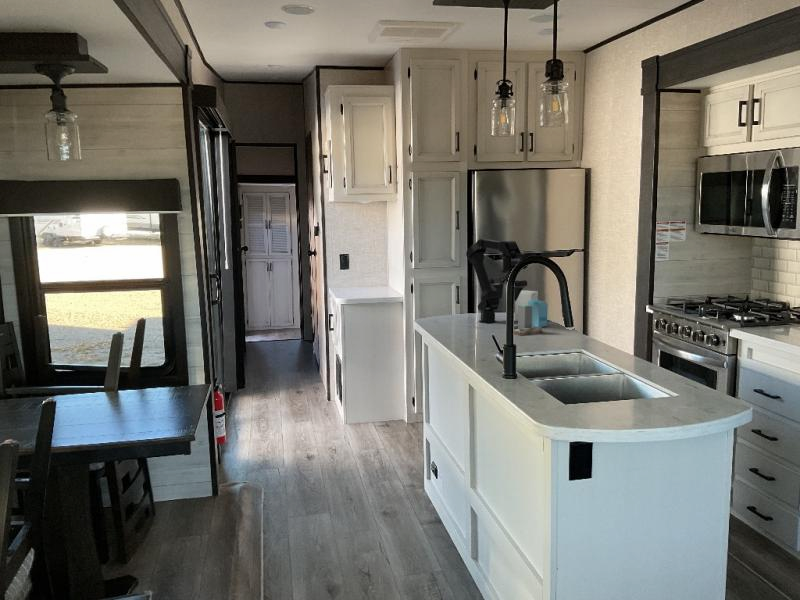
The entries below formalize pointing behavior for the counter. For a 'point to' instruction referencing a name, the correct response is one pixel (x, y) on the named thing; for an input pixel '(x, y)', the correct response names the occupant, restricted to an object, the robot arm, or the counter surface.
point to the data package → (539, 313)
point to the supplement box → (524, 299)
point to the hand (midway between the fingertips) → (507, 299)
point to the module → (524, 316)
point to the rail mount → (527, 330)
